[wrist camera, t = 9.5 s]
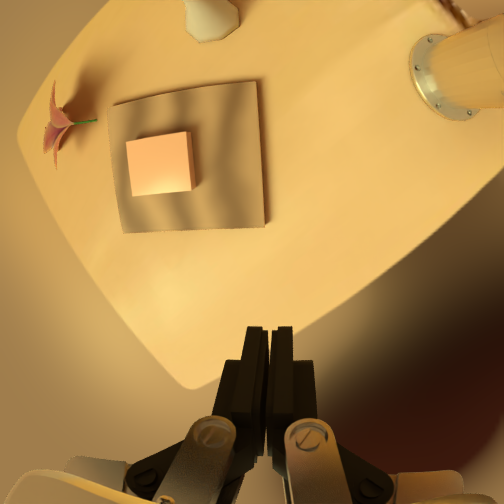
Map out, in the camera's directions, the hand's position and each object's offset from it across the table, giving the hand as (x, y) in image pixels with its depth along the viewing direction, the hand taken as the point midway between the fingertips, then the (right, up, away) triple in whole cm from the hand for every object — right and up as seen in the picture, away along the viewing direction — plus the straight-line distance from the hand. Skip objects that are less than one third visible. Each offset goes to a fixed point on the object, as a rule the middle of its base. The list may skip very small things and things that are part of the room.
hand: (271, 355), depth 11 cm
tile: (-8, +15, +22) cm, 27 cm away
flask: (-6, +33, +17) cm, 38 cm away
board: (-10, +16, +24) cm, 30 cm away
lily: (-27, +23, +23) cm, 42 cm away
